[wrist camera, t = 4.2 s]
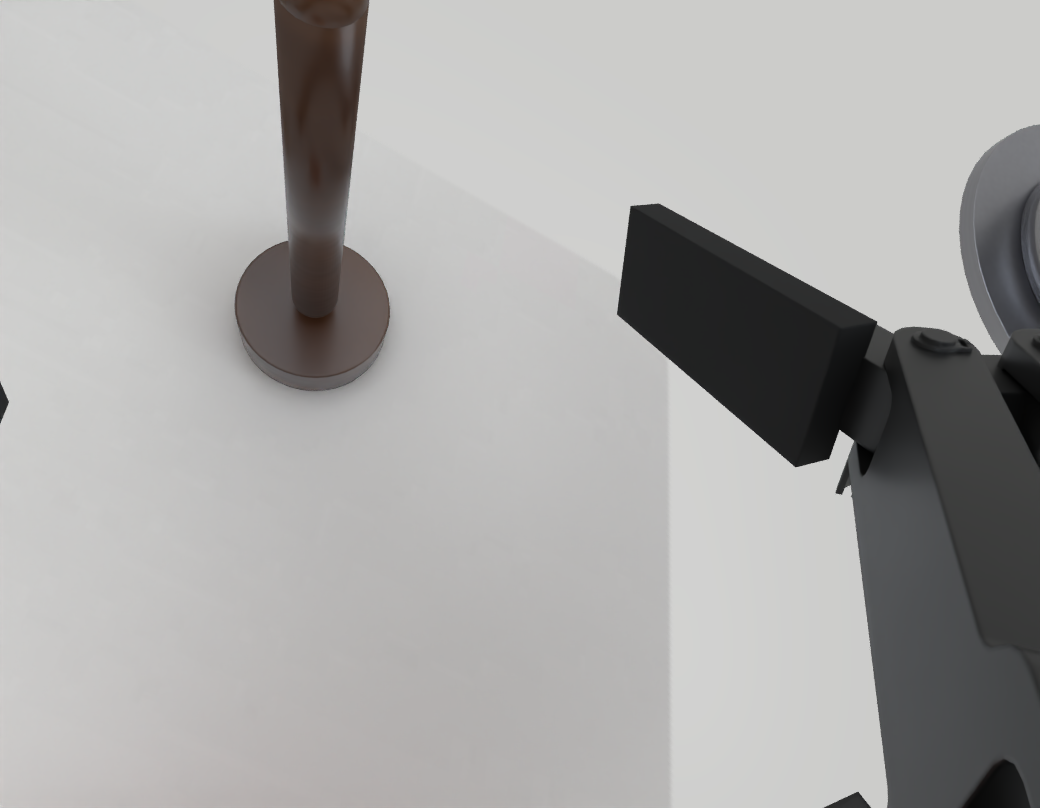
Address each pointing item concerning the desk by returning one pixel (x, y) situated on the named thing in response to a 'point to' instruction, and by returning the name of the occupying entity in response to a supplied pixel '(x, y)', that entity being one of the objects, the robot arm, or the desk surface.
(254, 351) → the brown peg stand
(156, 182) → the desk surface
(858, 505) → the robot arm
